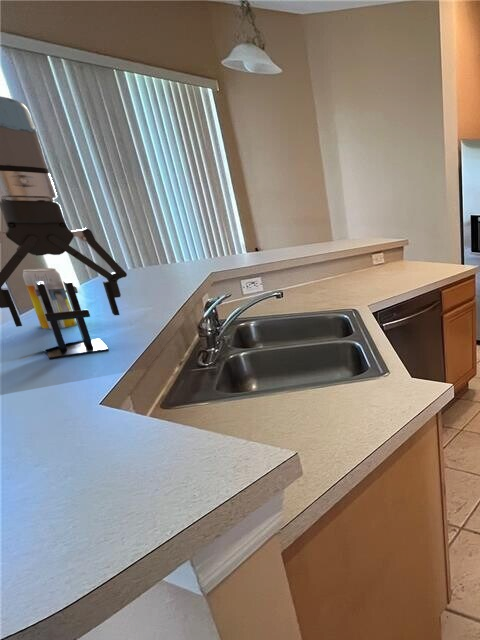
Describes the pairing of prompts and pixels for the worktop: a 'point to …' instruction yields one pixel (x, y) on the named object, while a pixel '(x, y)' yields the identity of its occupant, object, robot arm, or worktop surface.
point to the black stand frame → (87, 344)
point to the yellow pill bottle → (47, 277)
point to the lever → (62, 304)
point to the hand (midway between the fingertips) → (70, 319)
